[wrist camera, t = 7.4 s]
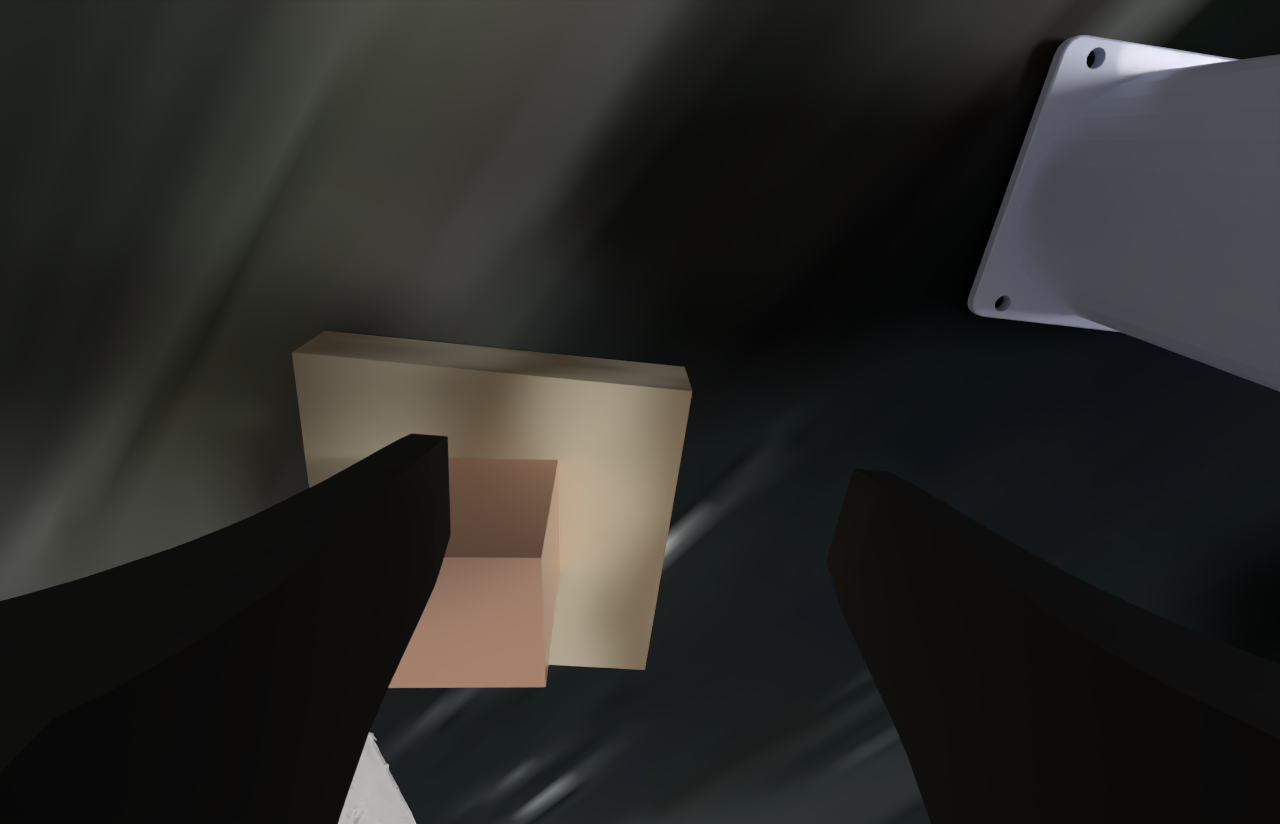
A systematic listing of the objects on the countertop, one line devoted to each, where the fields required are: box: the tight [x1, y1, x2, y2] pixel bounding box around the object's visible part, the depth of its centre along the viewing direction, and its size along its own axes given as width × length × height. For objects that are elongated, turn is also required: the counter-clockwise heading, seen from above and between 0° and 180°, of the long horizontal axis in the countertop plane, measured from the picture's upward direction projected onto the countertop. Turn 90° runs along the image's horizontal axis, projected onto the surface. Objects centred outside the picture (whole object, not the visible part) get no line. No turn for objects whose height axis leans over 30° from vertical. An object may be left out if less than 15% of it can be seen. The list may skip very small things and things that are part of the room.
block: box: [388, 458, 560, 688], centre depth 18 cm, size 4×4×5 cm
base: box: [292, 331, 692, 670], centre depth 21 cm, size 12×12×2 cm
